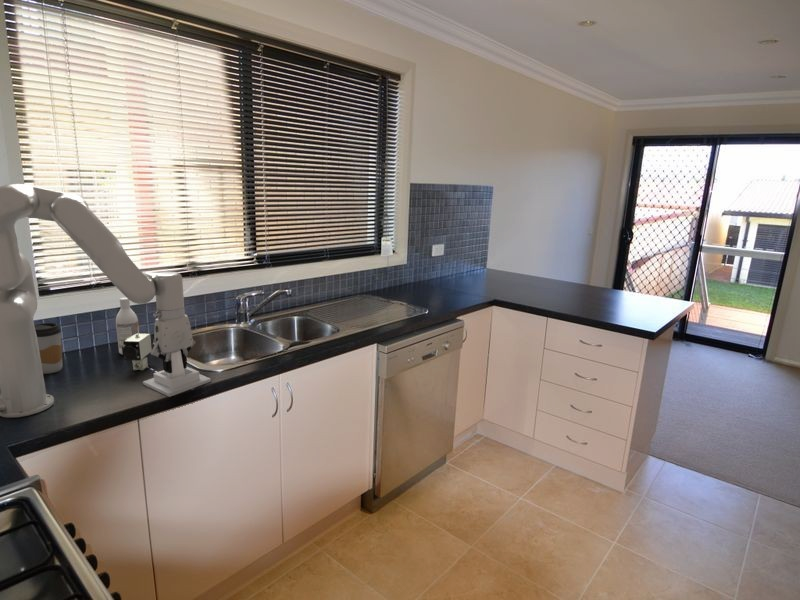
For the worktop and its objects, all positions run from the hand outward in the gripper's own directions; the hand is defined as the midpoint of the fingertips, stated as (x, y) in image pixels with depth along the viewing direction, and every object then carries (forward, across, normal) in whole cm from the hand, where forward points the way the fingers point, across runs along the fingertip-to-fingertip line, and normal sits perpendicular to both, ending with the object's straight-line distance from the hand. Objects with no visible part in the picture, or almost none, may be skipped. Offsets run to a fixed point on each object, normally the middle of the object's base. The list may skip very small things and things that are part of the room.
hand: (175, 369), depth 151 cm
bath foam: (+5, +5, +37) cm, 38 cm away
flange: (+5, 0, 0) cm, 5 cm away
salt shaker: (+3, 0, 0) cm, 3 cm away
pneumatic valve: (+5, -1, +20) cm, 21 cm away
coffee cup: (+5, -19, +40) cm, 44 cm away
